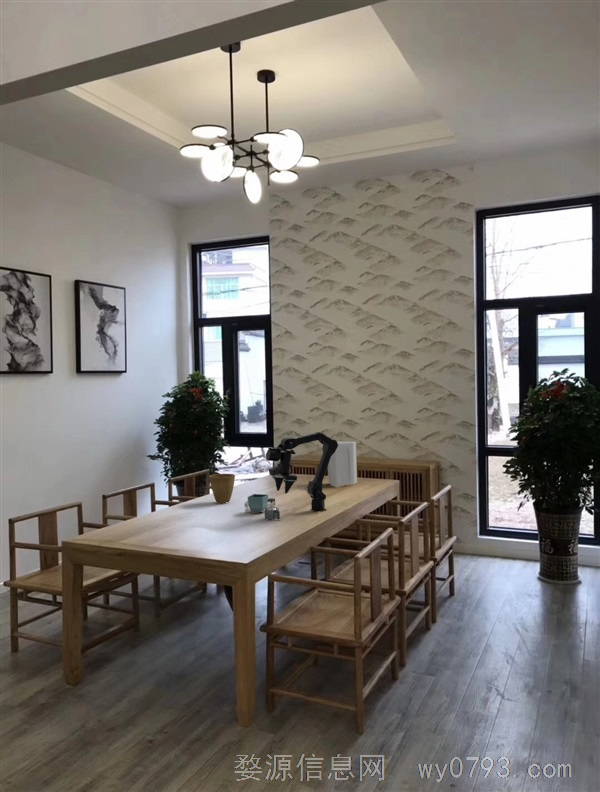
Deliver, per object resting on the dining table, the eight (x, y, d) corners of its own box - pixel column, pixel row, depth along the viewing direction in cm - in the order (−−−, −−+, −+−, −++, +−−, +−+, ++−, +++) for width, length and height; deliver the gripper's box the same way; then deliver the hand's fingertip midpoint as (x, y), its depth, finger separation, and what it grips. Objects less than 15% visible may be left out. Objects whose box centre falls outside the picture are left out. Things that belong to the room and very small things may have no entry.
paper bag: (321, 486, 415) (319, 443, 414) (331, 482, 427) (330, 441, 427) (347, 488, 405) (346, 444, 404) (357, 484, 418) (356, 441, 417)
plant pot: (236, 504, 364) (235, 476, 364) (210, 505, 362) (209, 477, 361) (235, 499, 379) (234, 472, 378) (210, 500, 376) (209, 474, 376)
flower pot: (263, 514, 334) (262, 497, 334) (247, 513, 337) (247, 496, 337) (269, 510, 342) (268, 494, 342) (254, 510, 345) (253, 493, 345)
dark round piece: (272, 508, 326) (272, 497, 326) (278, 510, 322) (278, 498, 322) (264, 510, 323) (264, 499, 323) (270, 511, 319) (270, 500, 319)
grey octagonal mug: (273, 516, 328) (273, 506, 328) (284, 519, 320) (284, 509, 320) (262, 518, 324) (262, 508, 323) (273, 521, 316) (273, 511, 316)
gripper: (263, 459, 335) (260, 488, 335) (279, 463, 319) (276, 494, 318) (282, 460, 341) (279, 489, 340) (299, 464, 324) (295, 495, 324)
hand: (281, 492), depth 331 cm, fingers open, 9 cm apart
